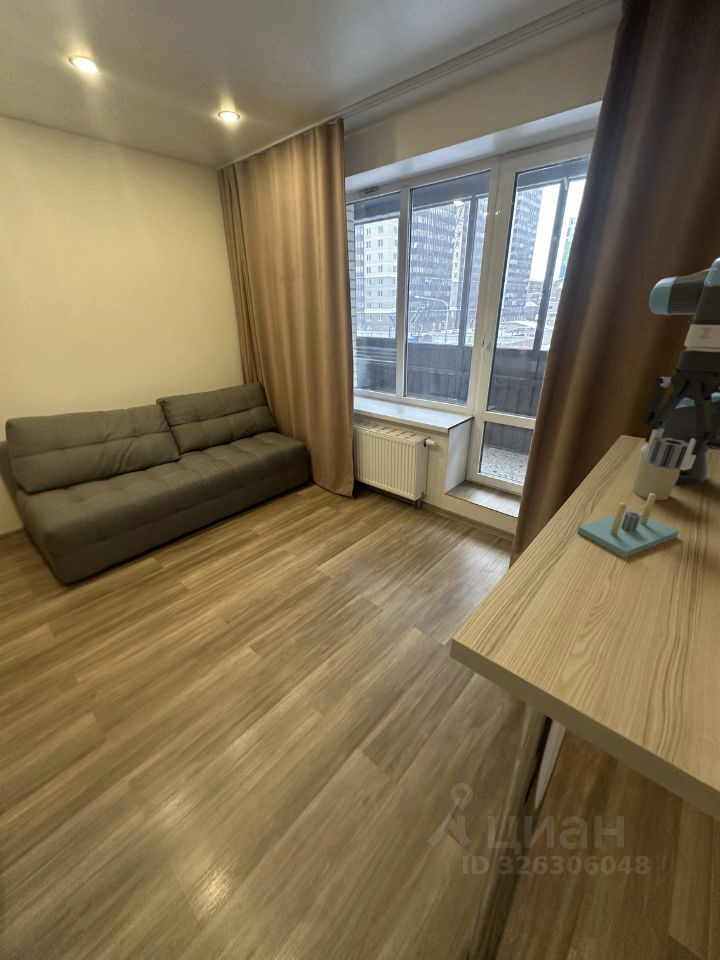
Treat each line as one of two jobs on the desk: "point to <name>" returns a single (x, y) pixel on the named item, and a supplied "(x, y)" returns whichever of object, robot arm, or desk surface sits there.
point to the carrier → (628, 530)
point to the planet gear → (667, 453)
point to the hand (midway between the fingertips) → (666, 462)
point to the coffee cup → (653, 479)
